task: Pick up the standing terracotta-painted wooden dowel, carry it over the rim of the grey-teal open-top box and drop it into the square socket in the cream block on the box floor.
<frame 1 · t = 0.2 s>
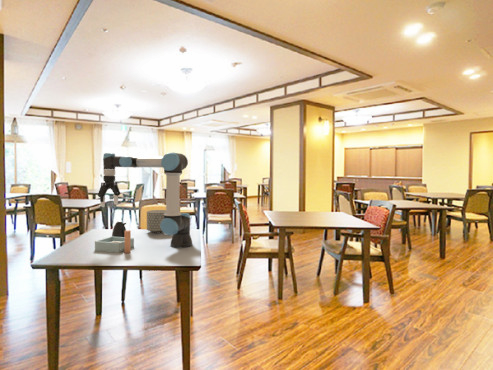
hand: (109, 205, 214), 28 cm above the table, fingers open, 13 cm apart
peg: (127, 252, 195), on the table
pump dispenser: (119, 242, 223), on the table
planter: (158, 232, 259), on the table
box: (114, 248, 204), on the table
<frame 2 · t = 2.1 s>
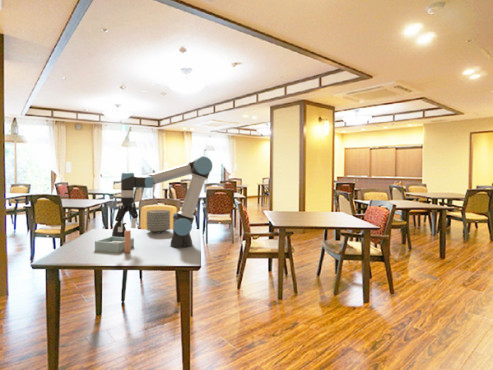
hand: (127, 230, 194), 15 cm above the table, fingers open, 13 cm apart
nothing on the table moved.
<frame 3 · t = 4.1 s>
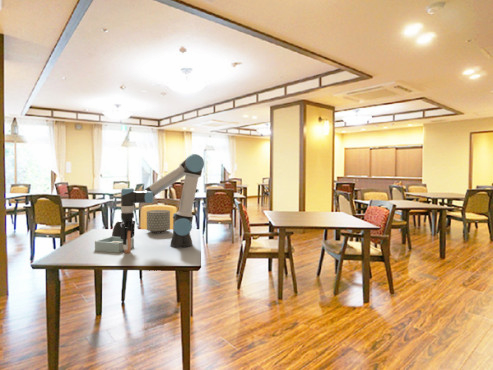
hand: (127, 248, 195), 3 cm above the table, fingers closed on peg, 3 cm apart
peg: (127, 252, 195), on the table, touching gripper
everything else where it was.
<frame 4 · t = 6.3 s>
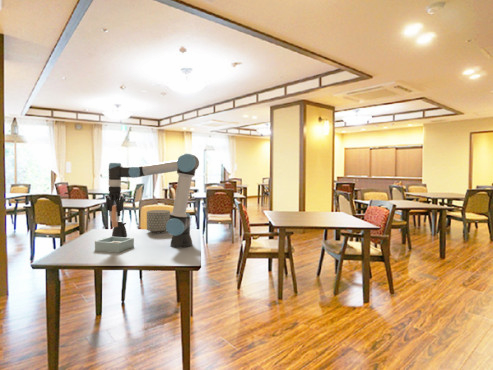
hand: (114, 220, 203), 19 cm above the table, fingers closed on peg, 3 cm apart
peg: (114, 226, 203), point 15 cm above the table, touching gripper
everything else where it was.
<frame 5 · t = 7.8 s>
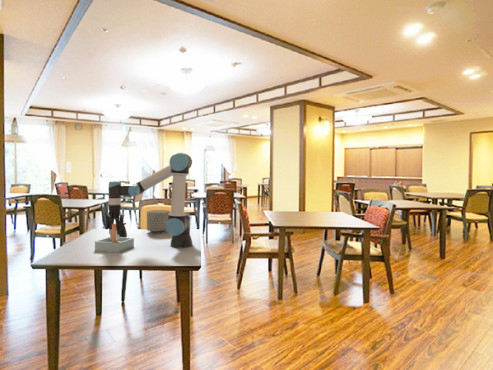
hand: (114, 239, 204), 6 cm above the table, fingers closed on peg, 3 cm apart
peg: (114, 244, 204), point 3 cm above the table, touching gripper
everything else where it was.
when the fingers open (6 cm above the table, at t = 8.8 s): peg stays where it is, resting on box.
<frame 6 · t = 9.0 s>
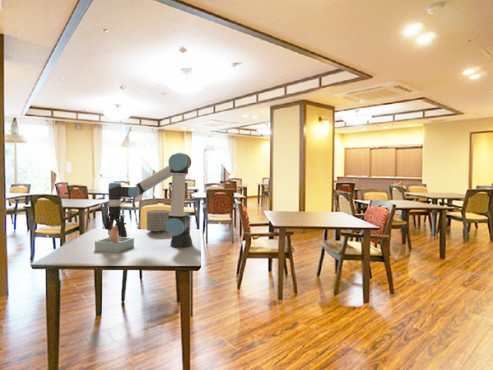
hand: (114, 240, 204), 6 cm above the table, fingers open, 5 cm apart
peg: (115, 247, 204), point 1 cm above the table, touching box
everything else where it was.
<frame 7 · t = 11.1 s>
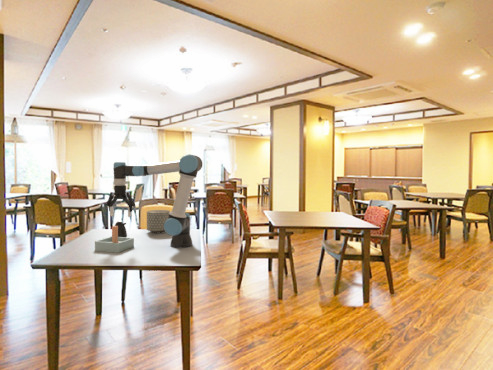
hand: (120, 216, 206), 21 cm above the table, fingers open, 13 cm apart
nothing on the table moved.
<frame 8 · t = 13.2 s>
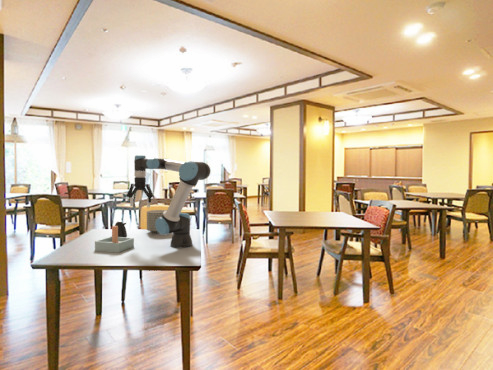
hand: (140, 206, 218), 27 cm above the table, fingers open, 13 cm apart
nothing on the table moved.
at the end: peg 0.1 cm off-centre on the box, point 1.0 cm above the box's base; peg tilted 0°; the gripper is holding nothing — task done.
